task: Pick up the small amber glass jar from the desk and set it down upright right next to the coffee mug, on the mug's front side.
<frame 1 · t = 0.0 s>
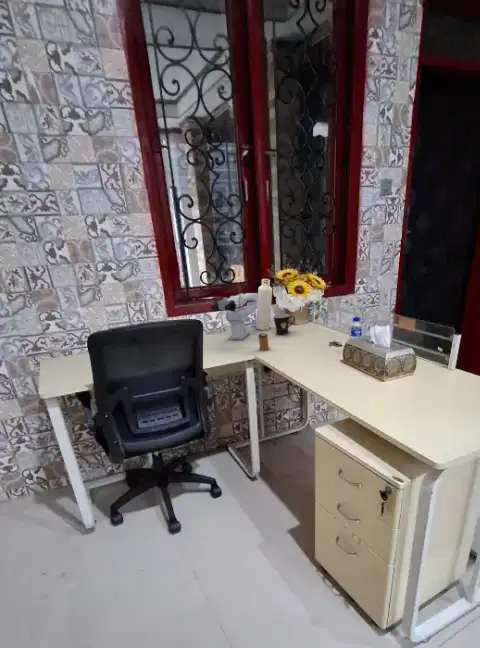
hand: (218, 308, 212), 22 cm above the table, tool horizontal, fingers open, 7 cm apart
bottle: (262, 327, 250), on the table
amber jar: (264, 348, 217), on the table
coffee mug: (285, 333, 238), on the table
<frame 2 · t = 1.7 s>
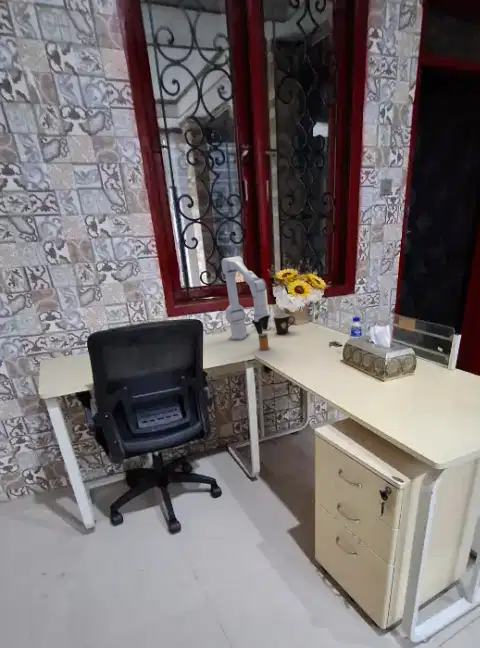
hand: (262, 331, 213), 9 cm above the table, tool pointing down, fingers open, 7 cm apart
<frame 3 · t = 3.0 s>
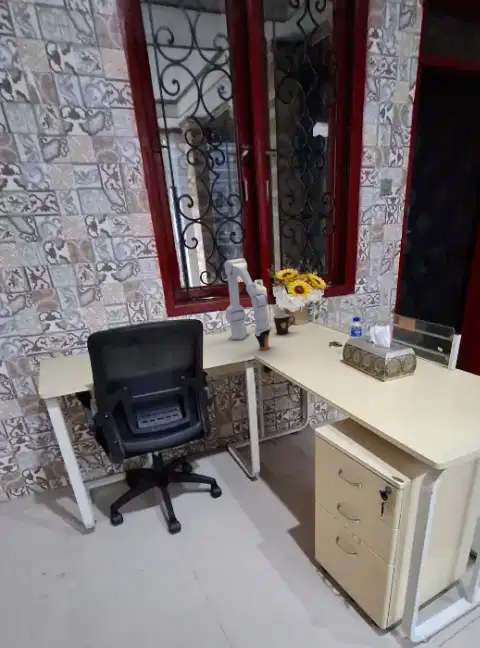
hand: (263, 345, 216), 2 cm above the table, tool pointing down, fingers closed on amber jar, 4 cm apart
amber jar: (264, 348, 217), on the table, touching gripper
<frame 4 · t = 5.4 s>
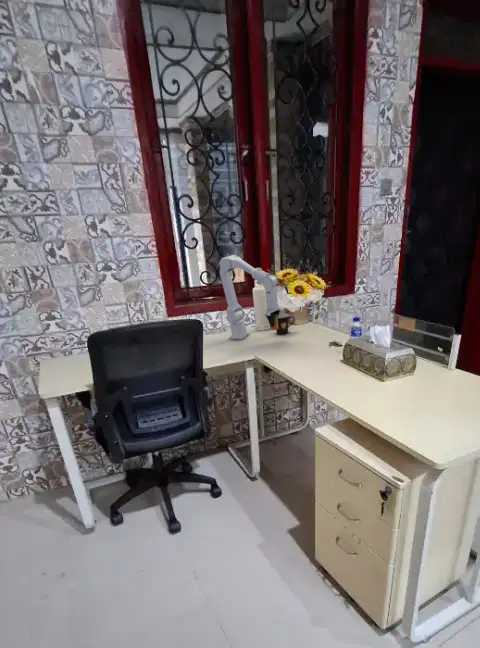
hand: (273, 325, 223), 9 cm above the table, tool pointing down, fingers closed on amber jar, 4 cm apart
amber jar: (274, 328, 224), point 7 cm above the table, touching gripper
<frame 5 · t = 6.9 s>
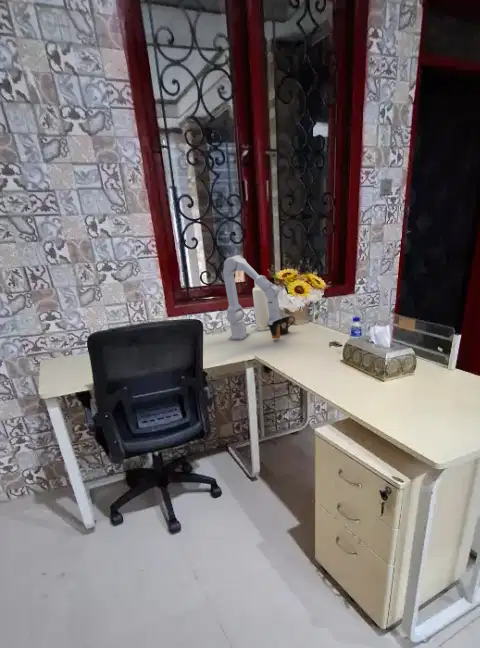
hand: (275, 334, 226), 3 cm above the table, tool pointing down, fingers closed on amber jar, 4 cm apart
amber jar: (276, 337, 227), point 2 cm above the table, touching gripper
when the fingers open (2 cm above the table, at t = 7.9 s): amber jar stays where it is, on the table.
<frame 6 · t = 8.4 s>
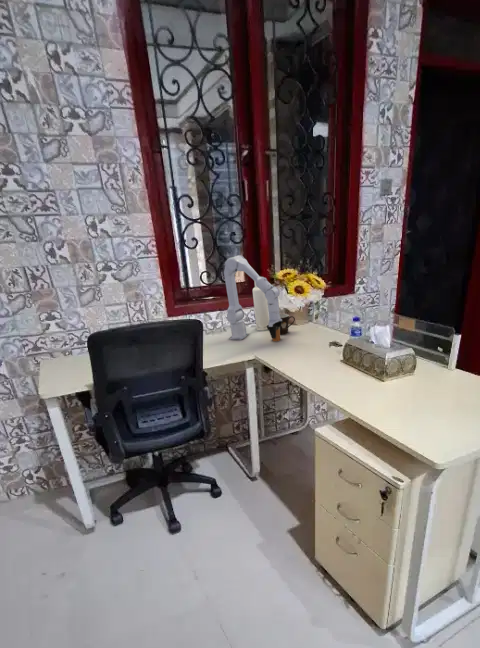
hand: (275, 335, 227), 2 cm above the table, tool pointing down, fingers open, 7 cm apart
amber jar: (276, 340, 228), on the table
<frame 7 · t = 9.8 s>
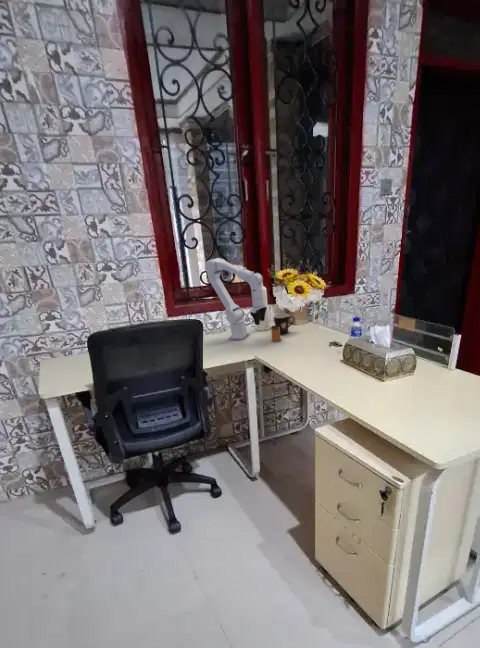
hand: (259, 322, 227), 9 cm above the table, tool pointing down, fingers open, 7 cm apart
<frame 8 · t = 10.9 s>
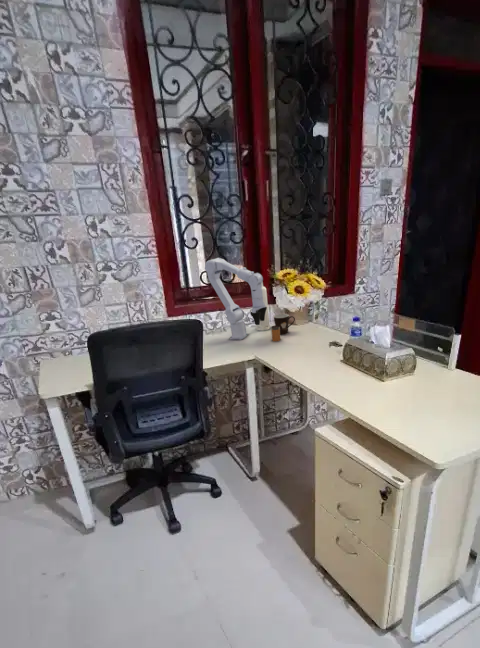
hand: (259, 322, 227), 9 cm above the table, tool pointing down, fingers open, 7 cm apart
at the end: amber jar inside the target area on the table beside the coffee mug (0.9 cm from its centre), on the table; amber jar tilted 0°; the gripper is holding nothing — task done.
